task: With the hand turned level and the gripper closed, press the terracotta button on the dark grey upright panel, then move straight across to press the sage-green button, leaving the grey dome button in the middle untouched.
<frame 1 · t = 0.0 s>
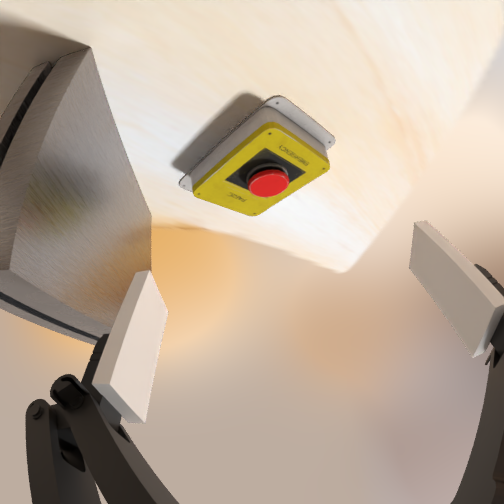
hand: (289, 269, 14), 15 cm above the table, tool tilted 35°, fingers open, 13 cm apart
button panel: (101, 156, 24), on the table
emergency button: (253, 156, 30), on the table
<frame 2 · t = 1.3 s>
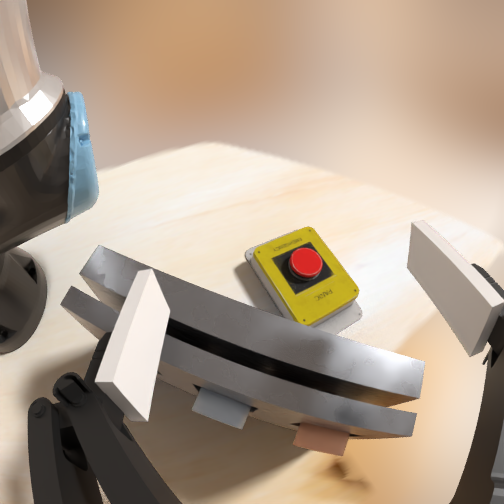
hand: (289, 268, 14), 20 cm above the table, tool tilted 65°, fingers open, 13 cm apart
terracotta button: (322, 436, 19), point 9 cm above the table, slide at 0.0 cm
grey dome button: (222, 405, 20), point 9 cm above the table, slide at 0.0 cm
button panel: (233, 386, 29), on the table
emergency button: (302, 286, 37), on the table
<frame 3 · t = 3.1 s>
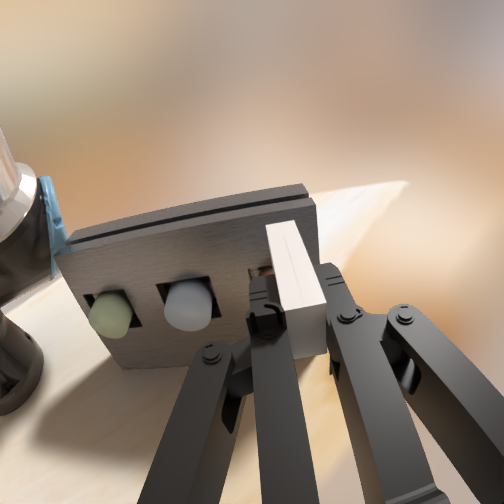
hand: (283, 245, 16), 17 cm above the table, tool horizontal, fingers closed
sage button: (111, 314, 26), point 9 cm above the table, slide at 0.0 cm
terracotta button: (281, 290, 25), point 9 cm above the table, slide at 0.0 cm
grey dome button: (188, 305, 25), point 9 cm above the table, slide at 0.0 cm
button panel: (215, 345, 33), on the table
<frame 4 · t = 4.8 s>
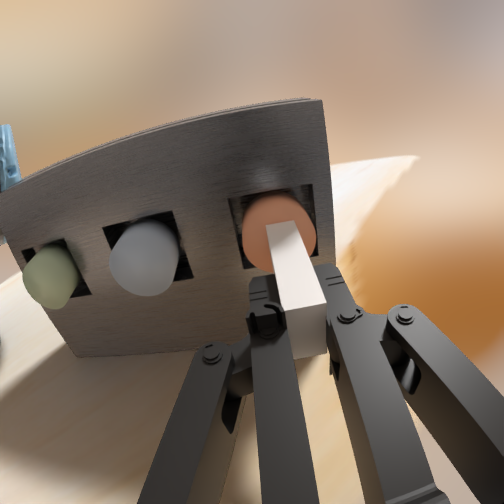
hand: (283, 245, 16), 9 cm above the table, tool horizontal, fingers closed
sage button: (51, 276, 18), point 9 cm above the table, slide at 0.0 cm
terracotta button: (277, 231, 17), point 9 cm above the table, slide at 0.2 cm, touching gripper
grey dome button: (145, 257, 17), point 9 cm above the table, slide at 0.0 cm
button panel: (192, 327, 25), on the table
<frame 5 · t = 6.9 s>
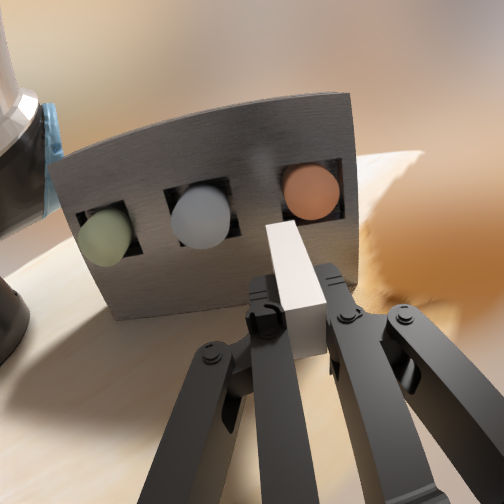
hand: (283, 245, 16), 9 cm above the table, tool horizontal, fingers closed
sage button: (106, 236, 21), point 9 cm above the table, slide at 0.0 cm
terracotta button: (309, 188, 22), point 9 cm above the table, slide at 1.6 cm
grey dome button: (202, 215, 21), point 9 cm above the table, slide at 0.0 cm
button panel: (230, 289, 28), on the table
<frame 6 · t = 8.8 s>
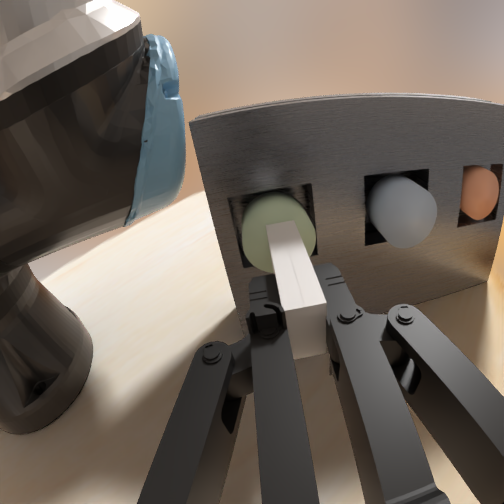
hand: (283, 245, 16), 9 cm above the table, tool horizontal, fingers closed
sage button: (276, 231, 17), point 9 cm above the table, slide at 0.0 cm, touching gripper
terracotta button: (473, 189, 18), point 9 cm above the table, slide at 1.6 cm
grey dome button: (401, 210, 17), point 9 cm above the table, slide at 0.0 cm
button panel: (376, 292, 24), on the table
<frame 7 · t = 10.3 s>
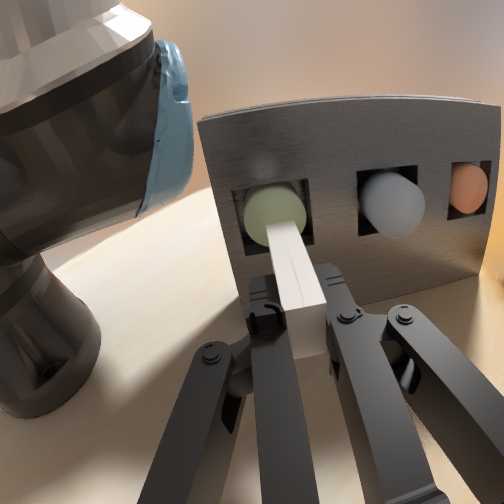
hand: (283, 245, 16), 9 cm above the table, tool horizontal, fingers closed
sage button: (273, 212, 20), point 9 cm above the table, slide at 1.6 cm
terracotta button: (462, 185, 19), point 9 cm above the table, slide at 1.6 cm
grey dome button: (391, 203, 18), point 9 cm above the table, slide at 0.0 cm
button panel: (371, 283, 26), on the table
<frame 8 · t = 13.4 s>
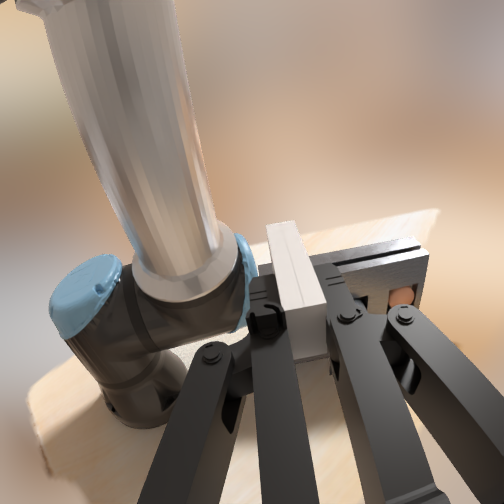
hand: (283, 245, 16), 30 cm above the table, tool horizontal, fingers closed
terracotta button: (399, 294, 39), point 9 cm above the table, slide at 1.6 cm
grey dome button: (352, 314, 38), point 9 cm above the table, slide at 0.0 cm
button panel: (344, 341, 46), on the table
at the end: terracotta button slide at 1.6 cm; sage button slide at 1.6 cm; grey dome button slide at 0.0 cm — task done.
